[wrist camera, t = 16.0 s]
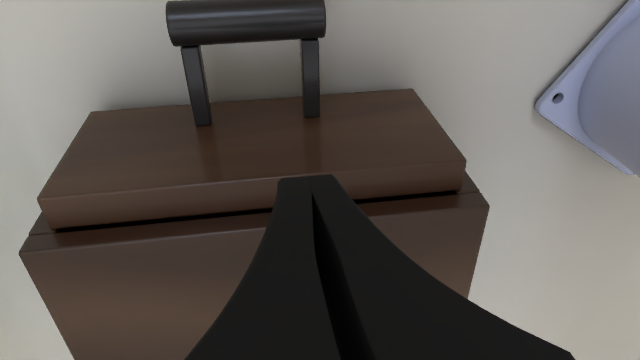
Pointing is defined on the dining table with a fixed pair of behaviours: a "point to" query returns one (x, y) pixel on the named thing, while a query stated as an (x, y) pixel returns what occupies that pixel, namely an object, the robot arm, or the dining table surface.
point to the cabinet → (210, 270)
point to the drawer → (246, 135)
